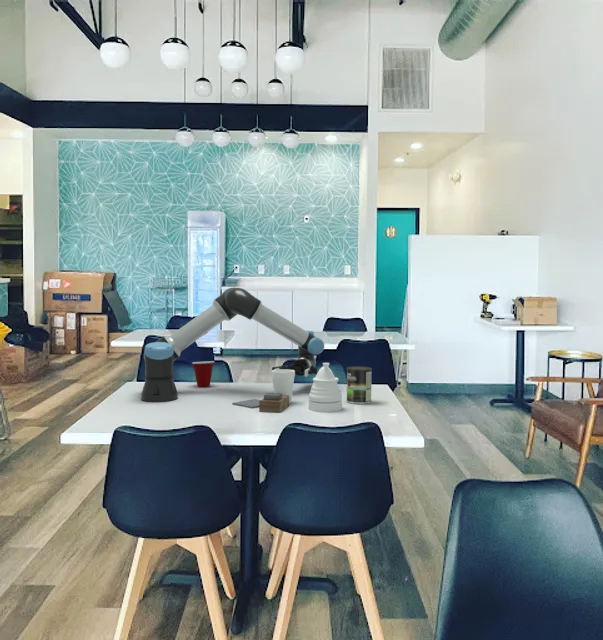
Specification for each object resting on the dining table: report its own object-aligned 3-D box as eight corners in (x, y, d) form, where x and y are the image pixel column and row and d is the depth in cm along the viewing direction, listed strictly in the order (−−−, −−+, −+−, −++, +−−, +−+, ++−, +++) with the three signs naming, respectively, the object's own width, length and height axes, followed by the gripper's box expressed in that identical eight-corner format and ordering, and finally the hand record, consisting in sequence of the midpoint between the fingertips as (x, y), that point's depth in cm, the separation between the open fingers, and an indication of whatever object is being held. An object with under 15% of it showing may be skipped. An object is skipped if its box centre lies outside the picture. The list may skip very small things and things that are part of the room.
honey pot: (344, 411, 232) (345, 364, 232) (311, 412, 231) (311, 365, 230) (338, 405, 245) (338, 360, 244) (306, 406, 243) (306, 360, 242)
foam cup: (267, 401, 252) (267, 370, 251) (285, 399, 257) (285, 368, 257) (280, 405, 244) (280, 373, 244) (299, 402, 250) (299, 371, 249)
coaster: (252, 408, 239) (252, 406, 239) (232, 404, 247) (232, 402, 247) (274, 404, 247) (274, 402, 247) (254, 400, 256) (254, 398, 255)
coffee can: (355, 405, 245) (355, 370, 244) (341, 401, 254) (341, 367, 253) (376, 402, 250) (376, 368, 249) (362, 398, 259) (362, 365, 258)
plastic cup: (207, 383, 300) (207, 359, 299) (219, 386, 292) (219, 361, 291) (187, 386, 293) (187, 361, 292) (199, 388, 285) (198, 363, 284)
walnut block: (279, 412, 231) (279, 396, 230) (259, 411, 232) (259, 395, 232) (289, 405, 244) (289, 390, 244) (269, 404, 246) (269, 389, 246)
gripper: (328, 375, 278) (318, 382, 257) (275, 374, 284) (261, 381, 263) (328, 358, 277) (318, 364, 257) (275, 358, 283) (261, 363, 263)
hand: (289, 373), depth 260 cm, fingers open, 13 cm apart
